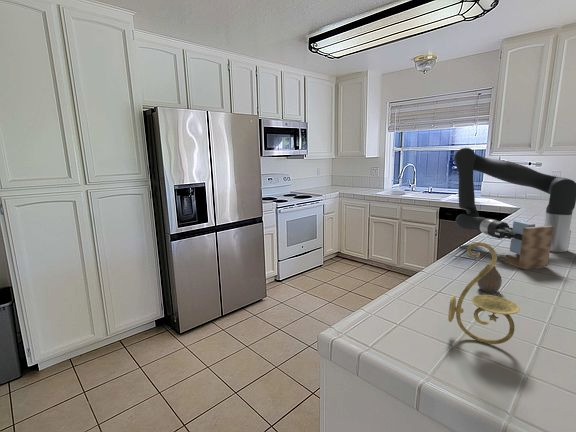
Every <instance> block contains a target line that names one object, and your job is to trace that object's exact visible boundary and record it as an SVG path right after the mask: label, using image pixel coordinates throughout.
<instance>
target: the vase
mask: <svg viewBox="0 0 576 432" xmlns="http://www.w3.org/2000/svg"><path fill="white" fill-rule="evenodd" d="M489 265H490V264H486V265H485V267H484V268H482V269H481V270H480V271H479V273H478V275H479V274H480V273H481V272H482V271H484V270H485V269H486V268H487V267H488V266H489ZM478 275H477V276H478ZM502 279H503V278H502V276H501V273H500V272H499V271H498V270H497V268H496V266H494V267H493V268H492V269H491V270H490V271H489V272H488V273H487V274H486V275H485V276H483V277H482V278H481V279H480V280H479V281H477V282H476V283H477V286H478V288H479V289H480V290H481V291H482V292H485V293H488V294H489V293H490V294H493V293H496V292H498V291H499V290H500V289H501V287H502V283H503V280H502Z"/></svg>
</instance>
